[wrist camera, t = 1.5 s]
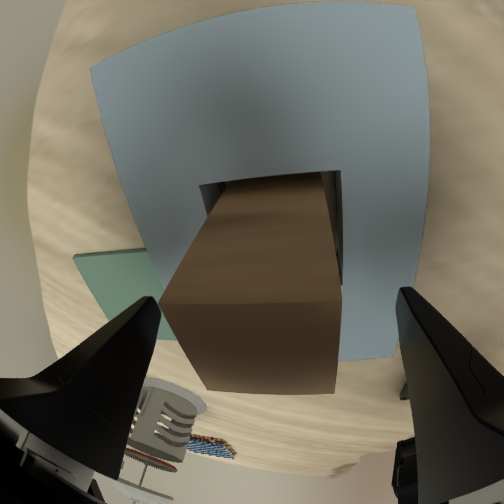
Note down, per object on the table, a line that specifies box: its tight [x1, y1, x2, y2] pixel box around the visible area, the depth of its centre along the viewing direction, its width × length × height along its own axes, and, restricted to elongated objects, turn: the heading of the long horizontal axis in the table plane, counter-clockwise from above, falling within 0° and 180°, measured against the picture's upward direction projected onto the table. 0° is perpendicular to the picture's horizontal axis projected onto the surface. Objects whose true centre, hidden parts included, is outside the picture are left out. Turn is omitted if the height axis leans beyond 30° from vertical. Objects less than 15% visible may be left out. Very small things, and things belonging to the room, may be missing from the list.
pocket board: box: [90, 1, 430, 362], centre depth 14 cm, size 20×14×2 cm
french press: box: [106, 377, 206, 504], centre depth 21 cm, size 10×12×25 cm
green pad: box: [72, 249, 178, 341], centre depth 21 cm, size 9×9×1 cm
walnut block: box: [158, 171, 342, 395], centre depth 11 cm, size 4×4×9 cm
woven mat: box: [185, 434, 237, 459], centre depth 43 cm, size 10×11×2 cm
